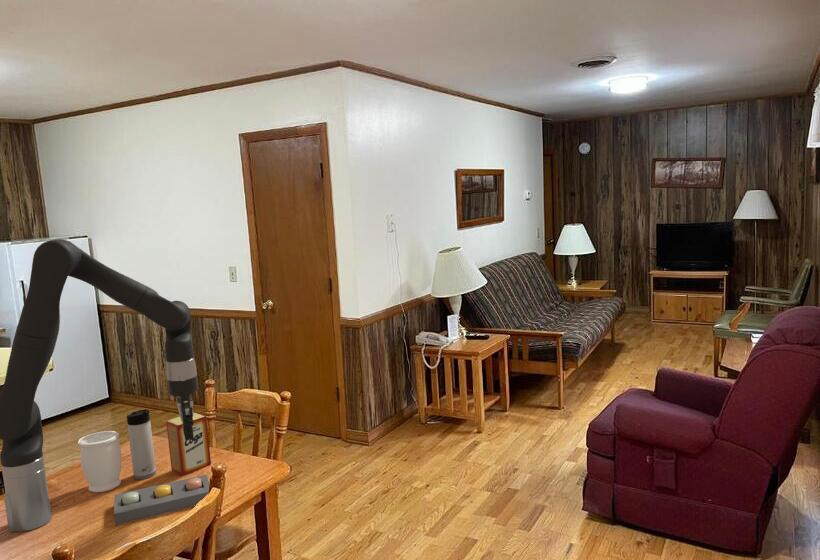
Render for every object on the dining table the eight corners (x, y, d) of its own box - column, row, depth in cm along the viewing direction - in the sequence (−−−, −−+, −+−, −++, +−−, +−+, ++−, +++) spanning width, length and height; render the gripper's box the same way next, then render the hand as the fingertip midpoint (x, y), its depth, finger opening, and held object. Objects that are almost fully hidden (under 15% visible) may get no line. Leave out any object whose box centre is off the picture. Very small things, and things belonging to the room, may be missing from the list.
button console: (115, 525, 161) (113, 514, 160) (115, 505, 172) (114, 494, 171) (213, 501, 170) (211, 491, 170) (207, 484, 181) (206, 474, 181)
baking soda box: (199, 459, 199) (194, 411, 197) (211, 464, 195) (205, 414, 193) (171, 470, 192) (165, 420, 190) (182, 476, 188) (177, 424, 186)
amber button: (155, 502, 168) (154, 492, 168) (155, 496, 172) (154, 487, 171) (171, 498, 170) (170, 489, 169) (170, 492, 173) (169, 483, 173)
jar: (89, 498, 177) (82, 447, 175) (81, 486, 185) (74, 437, 183) (129, 485, 183) (123, 436, 181) (119, 475, 191) (113, 427, 189)
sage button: (123, 509, 165) (121, 500, 165) (123, 503, 168) (121, 494, 168) (139, 505, 166) (138, 496, 166) (139, 499, 170) (138, 490, 170)
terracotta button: (187, 494, 171) (186, 485, 171) (186, 489, 175) (185, 480, 175) (202, 491, 173) (201, 482, 173) (201, 485, 176) (200, 476, 176)
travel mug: (149, 480, 186) (141, 414, 184) (129, 479, 188) (121, 414, 185) (161, 470, 193) (154, 407, 190) (142, 470, 194) (134, 407, 191)
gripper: (165, 371, 174) (172, 431, 177) (168, 384, 162) (176, 448, 164) (194, 367, 177) (200, 426, 180) (199, 379, 165) (206, 442, 167)
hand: (188, 436), depth 172 cm, fingers open, 3 cm apart
